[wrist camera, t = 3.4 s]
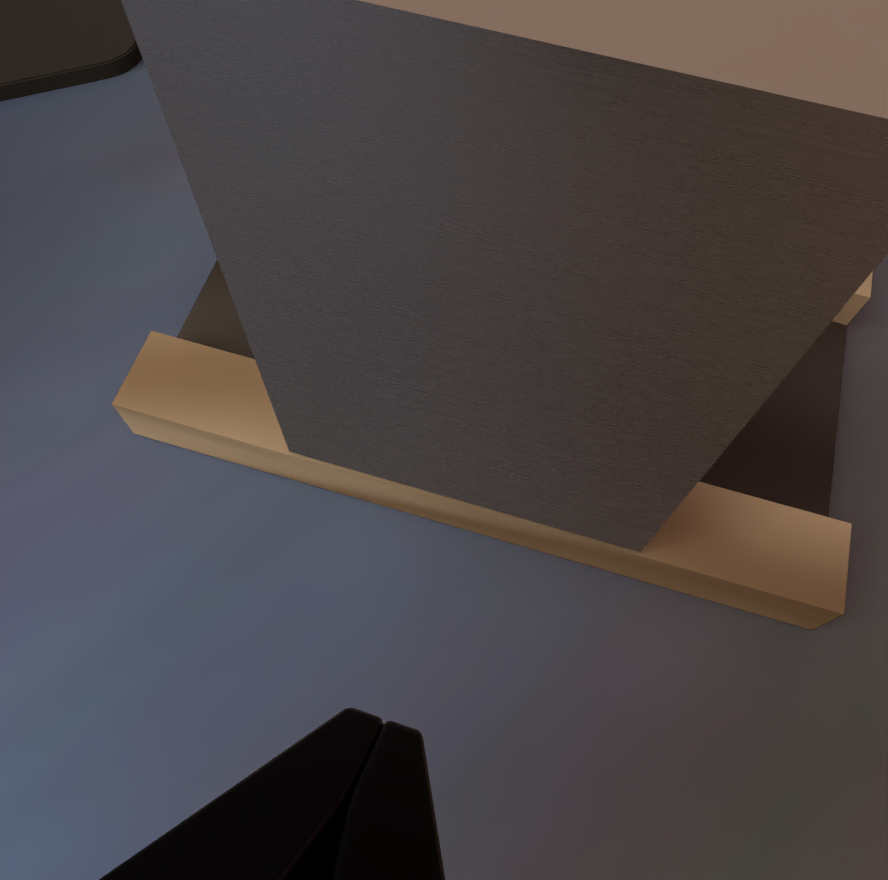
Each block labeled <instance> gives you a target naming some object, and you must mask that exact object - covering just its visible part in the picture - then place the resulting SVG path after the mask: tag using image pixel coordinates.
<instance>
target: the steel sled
mask: <svg viewBox="0 0 888 880" xmlns="http://www.w3.org/2000/svg"><path fill="white" fill-rule="evenodd" d="M121 2H122V4H123V7H124V10H125V12H126V15H127V18H128V21H129V23H130V26H131V29H132V31H133V34H134V37H135V39H136V42H137V45H138V47H139V50H140V53H141V55H142V58H143V61H144V63H145V66H146V69H147V71H148V74H149V77H150V80H151V82H152V85H153V88H154V90H155V93H156V96H157V98H158V101H159V104H160V106H161V109H162V112H163V114H164V117H165V120H166V122H167V125H168V128H169V130H170V133H171V136H172V138H173V141H174V144H175V147H176V149H177V152H178V155H179V157H180V160H181V163H182V165H183V168H184V171H185V173H186V176H187V179H188V181H189V184H190V187H191V189H192V192H193V195H194V197H195V200H196V203H197V206H198V208H199V211H200V214H201V216H202V219H203V222H204V224H205V227H206V230H207V232H208V235H209V238H210V240H211V243H212V246H213V248H214V251H215V254H216V256H217V259H218V262H219V265H220V267H221V270H222V273H223V275H224V278H225V281H226V283H227V286H228V289H229V291H230V294H231V297H232V299H233V302H234V305H235V307H236V310H237V313H238V315H239V318H240V321H241V323H242V326H243V329H244V332H245V334H246V337H247V340H248V342H249V345H250V348H251V350H252V353H253V356H254V358H255V361H256V364H257V366H258V369H259V372H260V374H261V377H262V380H263V382H264V385H265V388H266V391H267V393H268V396H269V399H270V401H271V404H272V407H273V409H274V412H275V415H276V417H277V420H278V423H279V425H280V428H281V431H282V433H283V436H284V439H285V441H286V444H287V447H288V450H289V452H292V453H295V454H299V455H302V456H306V457H309V458H313V459H316V460H320V461H323V462H327V463H330V464H334V465H337V466H341V467H344V468H348V469H351V470H355V471H358V472H362V473H365V474H369V475H372V476H376V477H379V478H383V479H386V480H390V481H393V482H397V483H400V484H404V485H407V486H410V487H414V488H417V489H421V490H424V491H428V492H431V493H435V494H438V495H442V496H445V497H449V498H452V499H456V500H459V501H463V502H466V503H470V504H473V505H477V506H480V507H484V508H487V509H491V510H494V511H498V512H501V513H505V514H508V515H512V516H515V517H519V518H522V519H526V520H529V521H533V522H536V523H540V524H543V525H547V526H550V527H554V528H557V529H561V530H564V531H568V532H571V533H574V534H578V535H581V536H585V537H588V538H592V539H595V540H599V541H602V542H606V543H609V544H613V545H616V546H620V547H623V548H627V549H630V550H634V551H637V552H641V551H642V550H643V549H644V547H645V546H646V545H647V544H648V542H649V541H650V540H651V539H652V538H653V536H654V535H655V534H656V533H657V532H658V530H659V529H660V528H661V527H662V526H663V524H664V523H665V522H666V521H667V519H668V518H669V517H670V516H671V515H672V513H673V512H674V511H675V510H676V509H677V507H678V506H679V505H680V504H681V503H682V501H683V500H684V499H685V498H686V496H687V495H688V494H689V493H690V492H691V490H692V489H693V488H694V487H695V486H696V484H697V483H698V482H699V481H700V480H701V478H702V477H703V476H704V475H705V473H706V472H707V471H708V470H709V469H710V467H711V466H712V465H713V464H714V463H715V461H716V460H717V459H718V458H719V457H720V455H721V454H722V453H723V452H724V451H725V449H726V448H727V447H728V446H729V444H730V443H731V442H732V441H733V440H734V438H735V437H736V436H737V435H738V434H739V432H740V431H741V430H742V429H743V428H744V426H745V425H746V424H747V423H748V421H749V420H750V419H751V418H752V417H753V415H754V414H755V413H756V412H757V411H758V409H759V408H760V407H761V406H762V405H763V403H764V402H765V401H766V400H767V398H768V397H769V396H770V395H771V394H772V392H773V391H774V390H775V389H776V388H777V386H778V385H779V384H780V383H781V382H782V380H783V379H784V378H785V377H786V375H787V374H788V373H789V372H790V371H791V369H792V368H793V367H794V366H795V365H796V363H797V362H798V361H799V360H800V359H801V357H802V356H803V355H804V354H805V352H806V351H807V350H808V349H809V348H810V346H811V345H812V344H813V343H814V342H815V340H816V339H817V338H818V337H819V336H820V334H821V333H822V332H823V331H824V330H825V328H826V327H827V326H828V325H829V323H830V322H831V321H832V320H833V319H834V317H835V316H836V315H837V314H838V313H839V311H840V310H841V309H842V308H843V307H844V305H845V304H846V303H847V302H848V300H849V299H850V298H851V297H852V296H853V294H854V293H855V292H856V291H857V290H858V288H859V287H860V286H861V285H862V284H863V282H864V281H865V280H866V279H867V277H868V276H869V275H870V274H871V273H872V271H873V270H874V269H875V268H876V267H877V265H878V264H879V263H880V262H881V261H882V259H883V258H884V257H885V256H886V254H887V253H888V0H121Z"/></svg>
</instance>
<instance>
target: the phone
mask: <svg viewBox="0 0 888 880" xmlns="http://www.w3.org/2000/svg"><path fill="white" fill-rule="evenodd" d="M141 58H142V55H141V53H140V50H139V47H138V45H137V42H136V39H135V37H134V34H133V31H132V29H131V26H130V23H129V21H128V18H127V15H126V12H125V10H124V7H123V4H122V2H121V0H0V101H4V100H8V99H13V98H18V97H23V96H28V95H32V94H37V93H42V92H47V91H51V90H56V89H61V88H66V87H70V86H75V85H80V84H85V83H89V82H94V81H99V80H103V79H108V78H112V77H115V76H118V75H121V74H123V73H125V72H127V71H129V70H130V69H132V68H133V67H135V66H136V65H137V64H138V62H139V61H140V60H141Z"/></svg>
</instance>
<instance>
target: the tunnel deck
mask: <svg viewBox="0 0 888 880" xmlns="http://www.w3.org/2000/svg"><path fill="white" fill-rule="evenodd" d="M872 275H873V271H872V273H871V274H870V275H869V276H868V277H867V279H866V280H865V281H864V282H863V284H862V285H861V286H860V287H859V288H858V290H857V291H856V292H855V293H854V294H853V296H852V297H851V298H850V299H849V300H848V302H847V303H846V304H845V305H844V307H843V308H842V309H841V310H840V311H839V313H838V314H837V315H836V316H835V317H834V319H833V320H832V321H831V322H830V323H829V325H828V326H827V327H826V328H825V330H824V331H823V332H822V333H821V334H820V336H819V337H818V338H817V339H816V340H815V342H814V343H813V344H812V345H811V346H810V348H809V349H808V350H807V351H806V352H805V354H804V355H803V356H802V357H801V359H800V360H799V361H798V362H797V363H796V365H795V366H794V367H793V368H792V369H791V371H790V372H789V373H788V374H787V375H786V377H785V378H784V379H783V380H782V382H781V383H780V384H779V385H778V386H777V388H776V389H775V390H774V391H773V392H772V394H771V395H770V396H769V397H768V398H767V400H766V401H765V402H764V403H763V405H762V406H761V407H760V408H759V409H758V411H757V412H756V413H755V414H754V415H753V417H752V418H751V419H750V420H749V421H748V423H747V424H746V425H745V426H744V428H743V429H742V430H741V431H740V432H739V434H738V435H737V436H736V437H735V438H734V440H733V441H732V442H731V443H730V444H729V446H728V447H727V448H726V449H725V451H724V452H723V453H722V454H721V455H720V457H719V458H718V459H717V460H716V461H715V463H714V464H713V465H712V466H711V467H710V469H709V470H708V471H707V472H706V473H705V475H704V476H703V477H702V478H701V480H700V481H699V482H698V483H697V484H696V486H695V487H694V488H693V489H692V490H691V492H690V493H689V494H688V495H687V496H686V498H685V499H684V500H683V501H682V503H681V504H680V505H679V506H678V507H677V509H676V510H675V511H674V512H673V513H672V515H671V516H670V517H669V518H668V519H667V521H666V522H665V523H664V524H663V526H662V527H661V528H660V529H659V530H658V532H657V533H656V534H655V535H654V536H653V538H652V539H651V540H650V541H649V542H648V544H647V545H646V546H645V547H644V549H643V550H642V551H641V552H637V551H634V550H630V549H627V548H623V547H620V546H616V545H613V544H609V543H606V542H602V541H599V540H595V539H592V538H588V537H585V536H581V535H578V534H574V533H571V532H568V531H564V530H561V529H557V528H554V527H550V526H547V525H543V524H540V523H536V522H533V521H529V520H526V519H522V518H519V517H515V516H512V515H508V514H505V513H501V512H498V511H494V510H491V509H487V508H484V507H480V506H477V505H473V504H470V503H466V502H463V501H459V500H456V499H452V498H449V497H445V496H442V495H438V494H435V493H431V492H428V491H424V490H421V489H417V488H414V487H410V486H407V485H404V484H400V483H397V482H393V481H390V480H386V479H383V478H379V477H376V476H372V475H369V474H365V473H362V472H358V471H355V470H351V469H348V468H344V467H341V466H337V465H334V464H330V463H327V462H323V461H320V460H316V459H313V458H309V457H306V456H302V455H299V454H295V453H292V452H289V450H288V447H287V444H286V441H285V439H284V436H283V433H282V431H281V428H280V425H279V423H278V420H277V417H276V415H275V412H274V409H273V407H272V404H271V401H270V399H269V396H268V393H267V391H266V388H265V385H264V382H263V380H262V377H261V374H260V372H259V369H258V366H257V364H256V361H255V358H254V356H253V353H252V350H251V348H250V345H249V342H248V340H247V337H246V334H245V332H244V329H243V326H242V323H241V321H240V318H239V315H238V313H237V310H236V307H235V305H234V302H233V299H232V297H231V294H230V291H229V289H228V286H227V283H226V281H225V278H224V275H223V273H222V270H221V267H220V265H219V262H218V260H217V261H216V263H215V265H214V267H213V269H212V271H211V273H210V275H209V277H208V279H207V281H206V283H205V285H204V286H203V288H202V290H201V292H200V294H199V296H198V298H197V300H196V302H195V304H194V306H193V308H192V310H191V312H190V313H189V315H188V317H187V319H186V321H185V323H184V325H183V327H182V329H181V331H180V333H179V335H178V337H177V338H176V337H172V336H169V335H165V334H161V333H158V332H154V331H151V332H150V334H149V336H148V338H147V340H146V342H145V344H144V345H143V347H142V349H141V351H140V353H139V355H138V357H137V358H136V360H135V362H134V364H133V366H132V368H131V370H130V372H129V373H128V375H127V377H126V379H125V381H124V383H123V385H122V386H121V388H120V390H119V392H118V394H117V396H116V398H115V399H114V401H113V403H112V405H113V406H114V408H115V409H116V410H117V412H118V413H119V414H120V416H121V417H122V418H123V419H124V421H125V422H126V423H127V425H128V426H129V427H130V429H131V430H132V431H133V433H134V434H138V435H141V436H145V437H148V438H151V439H155V440H158V441H162V442H165V443H169V444H172V445H176V446H179V447H182V448H186V449H189V450H193V451H196V452H200V453H203V454H207V455H210V456H213V457H217V458H220V459H224V460H227V461H231V462H234V463H238V464H241V465H244V466H248V467H251V468H255V469H258V470H262V471H265V472H269V473H272V474H275V475H279V476H282V477H286V478H289V479H293V480H296V481H300V482H303V483H307V484H310V485H313V486H317V487H320V488H324V489H327V490H331V491H334V492H338V493H341V494H344V495H348V496H351V497H355V498H358V499H362V500H365V501H369V502H372V503H375V504H379V505H382V506H386V507H389V508H393V509H396V510H400V511H403V512H406V513H410V514H413V515H417V516H420V517H424V518H427V519H431V520H434V521H437V522H441V523H444V524H448V525H451V526H455V527H458V528H462V529H465V530H468V531H472V532H475V533H479V534H482V535H486V536H489V537H493V538H496V539H499V540H503V541H506V542H510V543H513V544H517V545H520V546H524V547H527V548H530V549H534V550H537V551H541V552H544V553H548V554H551V555H555V556H558V557H562V558H565V559H568V560H572V561H575V562H579V563H582V564H586V565H589V566H593V567H596V568H599V569H603V570H606V571H610V572H613V573H617V574H620V575H624V576H627V577H630V578H634V579H637V580H641V581H644V582H648V583H651V584H655V585H658V586H661V587H665V588H668V589H672V590H675V591H679V592H682V593H686V594H689V595H692V596H696V597H699V598H703V599H706V600H710V601H713V602H717V603H720V604H723V605H727V606H730V607H734V608H737V609H741V610H744V611H748V612H751V613H754V614H758V615H761V616H765V617H768V618H772V619H775V620H779V621H782V622H785V623H789V624H792V625H796V626H799V627H803V628H806V629H810V630H812V629H814V628H817V627H819V626H821V625H823V624H825V623H827V622H829V621H831V620H833V619H836V618H838V617H840V616H842V615H844V610H845V598H846V586H847V574H848V562H849V550H850V538H851V526H852V524H851V523H848V522H844V521H840V520H837V519H833V518H829V517H828V513H829V503H830V493H831V482H832V472H833V462H834V452H835V441H836V431H837V421H838V410H839V400H840V390H841V380H842V369H843V359H844V349H845V338H846V328H847V324H848V323H849V322H850V321H851V320H852V319H853V317H854V316H855V315H856V314H857V313H858V312H859V310H860V309H861V308H862V307H863V306H864V305H865V304H866V302H867V301H868V300H869V299H870V298H871V287H872Z"/></svg>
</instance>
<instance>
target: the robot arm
mask: <svg viewBox="0 0 888 880" xmlns="http://www.w3.org/2000/svg"><path fill="white" fill-rule="evenodd" d="M99 880H445V875H444V869H443V863H442V856H441V850H440V843H439V837H438V831H437V824H436V818H435V812H434V805H433V799H432V792H431V786H430V780H429V773H428V767H427V761H426V754H425V748H424V741H423V737H422V734H421V733H420V731H418V730H416V729H414V728H411V727H408V726H405V725H402V724H399V723H396V722H393V721H387V722H386V723H385V724H383V722H382V719H381V718H380V717H378V716H375V715H372V714H369V713H366V712H363V711H360V710H357V709H355V708H347V709H344V710H343V711H341V712H340V713H338V714H337V715H336V716H334V717H333V718H331V719H330V720H328V721H327V722H325V723H324V724H323V725H321V726H320V727H318V728H317V729H315V730H314V731H313V732H311V733H310V734H308V735H307V736H305V737H304V738H302V739H301V740H300V741H298V742H297V743H295V744H294V745H292V746H291V747H289V748H288V749H287V750H285V751H284V752H282V753H281V754H279V755H278V756H276V757H275V758H274V759H272V760H271V761H269V762H268V763H266V764H265V765H264V766H262V767H261V768H259V769H258V770H256V771H255V772H253V773H252V774H251V775H249V776H248V777H246V778H245V779H243V780H242V781H240V782H239V783H238V784H236V785H235V786H233V787H232V788H230V789H229V790H227V791H226V792H225V793H223V794H222V795H220V796H219V797H217V798H216V799H215V800H213V801H212V802H210V803H209V804H207V805H206V806H204V807H203V808H202V809H200V810H199V811H197V812H196V813H194V814H193V815H191V816H190V817H189V818H187V819H186V820H184V821H183V822H181V823H180V824H178V825H177V826H176V827H174V828H173V829H171V830H170V831H168V832H167V833H165V834H164V835H163V836H161V837H160V838H158V839H157V840H155V841H154V842H152V843H151V844H150V845H148V846H147V847H145V848H144V849H142V850H141V851H139V852H138V853H137V854H135V855H134V856H132V857H131V858H129V859H128V860H127V861H125V862H124V863H122V864H121V865H119V866H118V867H116V868H115V869H114V870H112V871H111V872H109V873H108V874H106V875H105V876H103V877H102V878H101V879H99Z"/></svg>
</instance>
